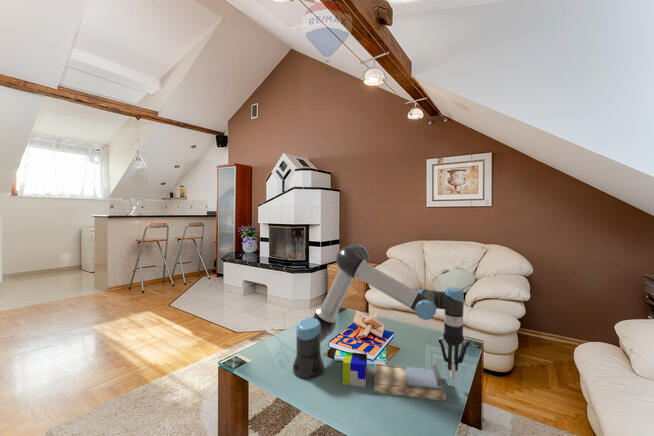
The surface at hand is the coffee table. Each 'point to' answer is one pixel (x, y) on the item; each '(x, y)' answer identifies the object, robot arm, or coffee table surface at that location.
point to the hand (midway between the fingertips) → (452, 377)
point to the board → (402, 384)
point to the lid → (424, 377)
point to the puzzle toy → (355, 369)
